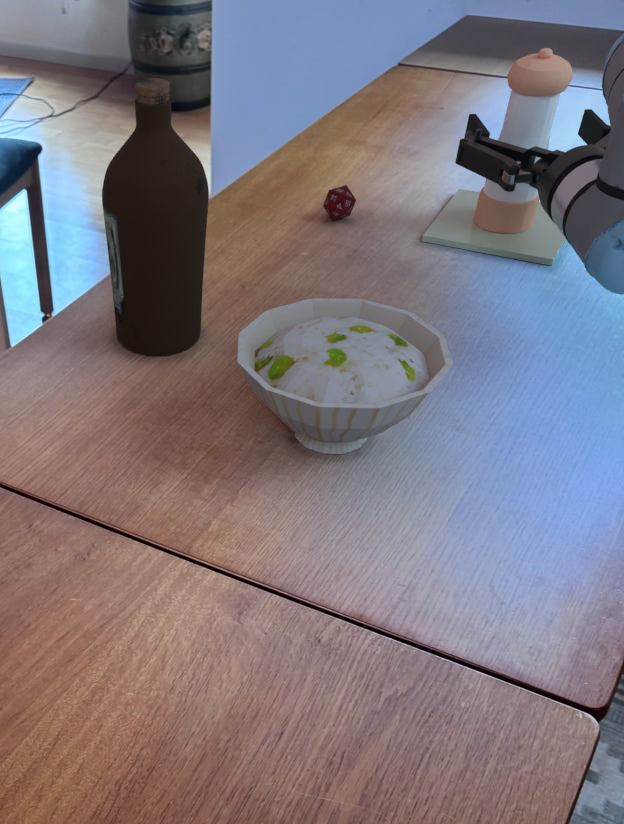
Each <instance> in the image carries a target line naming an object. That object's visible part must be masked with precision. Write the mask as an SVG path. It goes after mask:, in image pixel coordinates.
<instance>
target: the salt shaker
mask: <svg viewBox="0 0 624 824" xmlns="http://www.w3.org/2000/svg"><path fill="white" fill-rule="evenodd" d="M506 75H507V76H506V77H507V85H508V88H509V89H510V90H511V91H510V95H509V99H508V103H507V107H506V110H505V111H506V112H505V115H504V119H503V123H502V128H501V129H500V133H499V136H498V139H497V140H498V141H502V142H505V143H508V144H512V145H515V146H519V147H522V148H525V149H530V148H532V147H534V146H537V147H540V148H543V149H547V150H549V147H550V139H551V130H552V127H553V123H554V120H555V116H556V113H557V108H558V105H559V101H560V97H561V94H562V93H563V92H565V91H566V90H567V89H568V87H569V86H570V84H571V82H572V80H573V68H572V65H571V63H570V62H569V61H568V60H566V58H563V56H560V55H558V54H554V52H553V50H552V49H551V48H550V47H543V48H540V49H539V51H538V52H537V53H531V54H530V53H529V54H527V55H525V56H522V57H520V58H518V59H517V60H516V61H515V62H514V63H513V64H512V66H511V67H510V69H509V71H508V73H507V74H506ZM539 159H540V157H536V158H535V162H534V163H536V162H537V161H538V160H539ZM479 192H480V193H479V198H478V202H477V206H476V211H475V215H474V222H475V223H476V224H477V225H478V226H479V227H481V228H483V229H485V230H488V231H492V232H497V233H519V232H523V231H526V230H528V229H530V228H531V227H532V225H533V222H534V218H535V214H536V211H537V207H538V204H539V202H540V199H539V194H538V190H537V189H535V188H533V187H531V186H530V185H529V184H526V183H517V184H516V187H515V190H514V191H512V192H507V191H504V190H503V189H502V188H501V187H500V186H499V185H498V184H497V183H495V182H493V181H491V180H488V179H486V178H485V181H484V185H483V187H482V188H481V189H480V191H479Z"/></svg>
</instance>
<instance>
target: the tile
mask: <svg viewBox="0 0 624 824" xmlns="http://www.w3.org/2000/svg"><path fill="white" fill-rule="evenodd" d="M479 193H480V191H474V190H468V189H462V188H459V189H458V190H457V191H456V192H455V194H454V195H452V197H451V198H450V200H449V201H448V202H447V203H446V205H445V206H444V207H443V208H442V210H441V211H440V212H439V214H438V215H437V217H436V218H435V219H434V220H433V221H432V223H431V224H430V225H429V227H427V229H426V231H425V232H423V234H422V238H421V242H422V243H423V242H424V243H430V244H434V245H439V246H445V247H450V248H455V249H461V250H464V251H465V250H466V251H471V252H477V253H482V254H487V255H493V256H498V257H503V258H508V259H514V260H517V261H519V260H520V261H524V262H529V263H536V264H540V265H545V266H550V267H551V266H553V263H554V262H555V260H556V259H557V256H558V255H559V253H560V251H561V249H562V247H563V245H564V244H565V242H566V241H567V240H566V238H565V237H564V236H563V234H562V233H561V231H560V230H559V229H558V227H557V226H556V224H555V223H554V222H553V221H552V220H551V219H550V217H549V216H548V214H547V213H546V212H545V210H544V209H543V207H542V205H541V203H540V201H539V204H538V207H537V211H536V214H535V218H534V222H533V225H532V227H531V228H530V229H528V230H526V231H523V232H519V233H497V232H492V231H488V230H485V229H483V228H481V227H479V226H478V225H477V224H476V223H475V222H474V215H475V211H476V206H477V202H478V198H479Z"/></svg>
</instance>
